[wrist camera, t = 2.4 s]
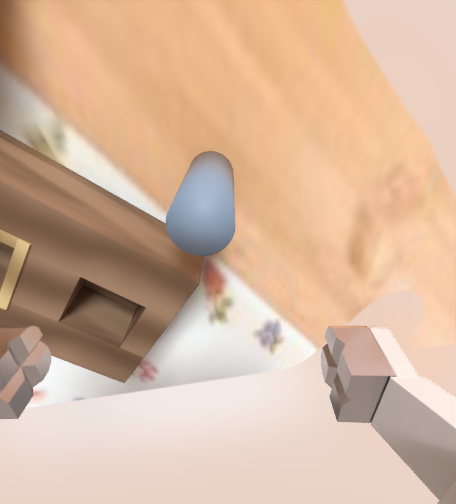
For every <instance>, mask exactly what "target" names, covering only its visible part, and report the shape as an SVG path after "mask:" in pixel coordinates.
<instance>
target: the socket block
mask: <svg viewBox="0 0 456 504" xmlns="http://www.w3.org/2000/svg"><path fill="white" fill-rule="evenodd" d="M202 261H203V256H198V255H193V254H189V253H187V252H185V251H183V250H181V249H180V248H179V247H177V246H176V245H175V244H174V243H173V241H172V240H171V239H170V237H169V235H168V232H167V229H166V224H165V223H164V222H162V221H160V220H158V219H156V218H155V217H153V216H151V215H149V214H148V213H146V212H144V211H142V210H141V209H139V208H137V207H135V206H133V205H132V204H130V203H128V202H126V201H125V200H123V199H121V198H119V197H117V196H116V195H114V194H112V193H110V192H109V191H107V190H105V189H103V188H102V187H100V186H98V185H96V184H94V183H93V182H91V181H89V180H87V179H86V178H84V177H82V176H80V175H78V174H77V173H75V172H73V171H71V170H70V169H68V168H66V167H64V166H63V165H61V164H59V163H57V162H55V161H54V160H52V159H50V158H48V157H47V156H45V155H43V154H41V153H39V152H38V151H36V150H34V149H32V148H31V147H29V146H27V145H25V144H24V143H22V142H20V141H18V140H16V139H15V138H13V137H11V136H9V135H8V134H6V133H4V132H2V131H0V325H30V326H37V327H39V329H40V331H41V333H42V335H43V336H42V338H41V340H40V341H41V342H42V343H44V344H45V345H47V346H48V348H49V350H50V352H51V355H52V356H54V357H57V358H60V359H62V360H65V361H67V362H70V363H73V364H75V365H78V366H81V367H83V368H86V369H88V370H91V371H94V372H96V373H99V374H101V375H104V376H107V377H109V378H112V379H114V380H117V381H120V382H122V383H125V382H126V381H127V379H128V378H129V377H130V375H131V374H132V373H133V371H134V370H135V369H136V367H137V366H138V365H139V363H140V362H141V361H142V359H143V358H144V357H145V355H146V354H147V353H148V351H149V350H150V349H151V347H152V346H153V345H154V343H155V342H156V341H157V339H158V338H159V337H160V335H161V334H162V333H163V331H164V330H165V329H166V327H167V326H168V325H169V323H170V322H171V321H172V319H173V318H174V317H175V315H176V314H177V313H178V311H179V310H180V309H181V307H182V306H183V305H184V303H185V302H186V301H187V299H188V298H189V297H190V295H191V294H192V293H193V291H194V290H195V289H196V287H197V286H198V285H199V280H200V274H201V267H202Z"/></svg>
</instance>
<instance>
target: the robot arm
mask: <svg viewBox="0 0 456 504" xmlns="http://www.w3.org/2000/svg"><path fill="white" fill-rule="evenodd" d="M42 336H43V335H42V333H41V331H40V329H39V327H37V326H30V325H0V419H18V418H19V417H20V415H21V413H22V412H23V410H24V409H25V407H26V406H27V404H28V403H29V401H30V399H31V398H32V396H33V387H34V386H35V385H37V384H38V383H40V382H41V381H42V380H43V379H44V377H45V376H46V374H47V372H48V371H49V367H50V363H51V352H50V350H49V348H48V346H47V345H45V344H44V343H42V342H41V341H40V340H41V338H42ZM325 338H326V341H327V344H326V345H325V346H324V347H323V348H322V353H321V367H322V373H323V377H324V380H325V382H326V383H327V384H328V385H329V386H330V387H331V388H332V390H331V394H330V400H331V403H332V406H333V409H334V413H335V415H336V419H337V421H338V422H362V423H371V425H372V427H373V428H374V429H375V430H376V431H377V432H378V433H379V434H380V435H381V437H382V438H383V439H384V440H385V441H386V442H387V443H388V444H389V445H390V446H391V447H392V449H393V450H394V451H395V452H396V453H397V454H398V455H399V456H400V457H401V459H402V460H403V461H404V462H405V463H406V464H407V465H408V466H409V467H410V468H411V470H412V471H413V472H414V473H415V474H416V475H417V476H418V477H419V478H420V480H421V481H422V482H423V483H424V484H425V485H426V486H427V487H428V488H429V489H430V491H431V492H432V493H433V494H434V495H435V496H436V497H437V498H438V499H439V500H440V501H439V502H438V504H456V398H455V397H453V396H452V395H451V394H449V393H448V392H446V391H445V390H443V389H442V388H440V387H439V386H438V385H436V384H435V383H433V382H432V381H430V380H429V379H428V378H426V377H419V376H418V374H417V373H416V371H415V369H414V368H413V366H412V365H411V363H410V362H409V360H408V358H407V357H406V355H405V354H404V352H403V351H402V349H401V347H400V346H399V344H398V343H397V341H396V340H395V338H394V336H393V335H392V333H391V332H390V330H389V329H388V328H387V327H386V326H328V328H327V330H326V334H325Z"/></svg>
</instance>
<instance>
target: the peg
mask: <svg viewBox="0 0 456 504" xmlns="http://www.w3.org/2000/svg"><path fill="white" fill-rule="evenodd" d="M166 229H167V232H168V235H169V237H170V239H171V240H172V241H173V243H174V244H175V245H176V246H177V247H179V248H180V249H181V250H183V251H185V252H187V253H189V254H193V255H198V256H206V255H212V254H215V253H217V252H219V251H221V250H222V249H224V248H225V247H226V246H227V245H228V244H229V243H230V241H231V240H232V238H233V235H234V232H235V208H234V180H233V168H232V165H231V163H230V162H229V160H228V159H227V158H226V157H225V156H224V155H222V154H220V153H218V152H213V151H208V152H203V153H201V154H199V155H198V156H197V157H195V159H194V160H193V161H192V163H191V165H190V167H189V169H188V171H187V173H186V175H185V177H184V180H183V182H182V184H181V186H180V188H179V190H178V192H177V194H176V196H175V198H174V200H173V203H172V205H171V207H170V209H169V211H168V213H167V217H166Z"/></svg>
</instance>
